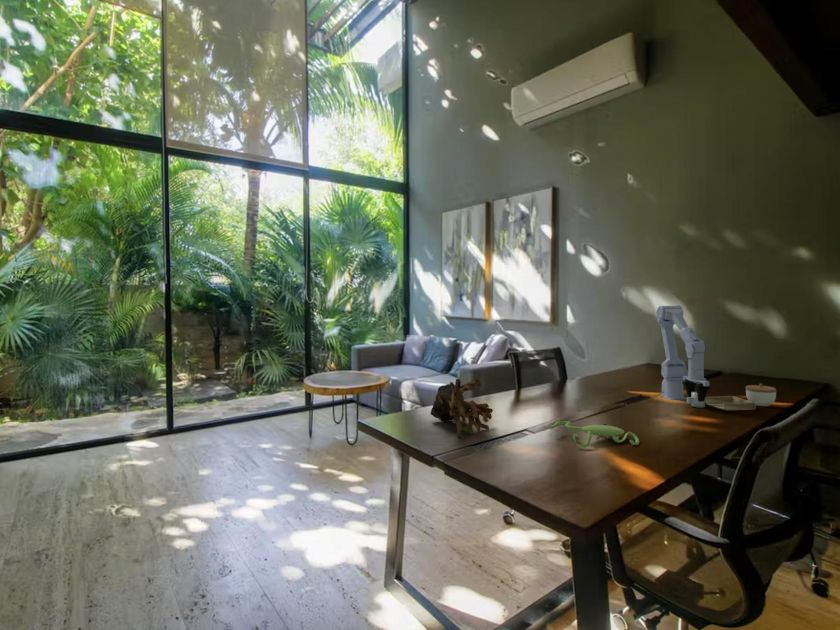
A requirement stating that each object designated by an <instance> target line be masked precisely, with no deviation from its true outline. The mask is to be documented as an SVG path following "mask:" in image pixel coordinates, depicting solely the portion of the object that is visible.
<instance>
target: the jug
mask: <svg viewBox="0 0 840 630" xmlns="http://www.w3.org/2000/svg"><path fill="white" fill-rule="evenodd" d="M686 398H687V399H686V403H687V404H690V405H691V407H694V408H699V409H700V408H701V409H702V408H703V409H704V408H705V407H706V403H705V400H704V402H699V401H698V395H697V390H696V391H694V392H691V397H688V396H687V397H686Z"/></svg>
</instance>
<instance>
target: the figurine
mask: <svg viewBox="0 0 840 630" xmlns="http://www.w3.org/2000/svg"><path fill="white" fill-rule="evenodd" d="M558 425H565V427H566V429H568V430H571V431H572V430H573V431H579V432H584V433H586V434H587V439H586V442H585V443H583V442H582V440H581V438H580V436H579V435H578V434H577V433H576V434H573V435H572V438H573V441H574V443H575V445H576V447H577V450H579V446H578V443H577V438H578V441H579V442H580V445H581V447H582V448H588V447H589V445H590V443H591V441H592V436H596V437H595V440H597V441H599V440H600V439H601V438H603V437H606V438H607V439H608V440H609V439H612V440H613V442H616V443H623V442H624V441H625V440H626V439H627V436H631V437H632V438H633V439H629V443H630V444H631V445H632V446H638V445H639V444H640V439H639V437H638V436H637V434H635V433H633V432H631V431H628V432H626V433H625V431H624V430H623V429H622V428H620V427H617V426H612V425H609V424H606V423H603V424H592V425H586V426H573V425H572V423H571V422H570V421H565V420H558V421H555V423H554V424H552V425H551V426H549V430H554V429H555V428H556V427H557V426H558ZM624 433H625V434H624ZM623 434H624V436H623V437H622V438H621V439H620V436H622V435H623Z"/></svg>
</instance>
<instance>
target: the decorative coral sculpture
mask: <svg viewBox="0 0 840 630" xmlns="http://www.w3.org/2000/svg"><path fill="white" fill-rule="evenodd" d="M461 383H462V382H461V379H460V378H456V379H455V382H453V381H450V382H449V383H448V384H444V385H441V386H439V387H438V389H437V394H435V395H436V396H435V400H434V402H433V404H432V408H431V410H430V415H431V416H433V417H434V418H436V419H438V420H439V421H441V422H443V421H448V422H450V421H449V420H451V421H452V423H453V424H456V428H457V429H456V436H457V438H461V437H462V431H463V432H465V433H468V431H469V433H470V434H471V433H472V434H473V433H474V429H473V426H474V427H475V428H476V430H477V435H479V434H480V433H481V429H485V430H486V429H488V430H490V427H489V425H488V424H485V423H488V422H489V420H491V419H492V416H493V415H492V413H493V411H494V410H493V408H490V405H489V404H488V403H487V402H486V403H477V402H475V401H474V400H472V399H471V400H470V401H468V400H465V396H464V395H463V394H464V393H465V392H467V391H476V390H477V387H476V386H478V387H482V384H481V382H480V379H479V378H475V379H473V380H471V381H468V382H466V383H464V384H462V385H461ZM480 416H481V417H482V420H483V422H484V423H482V421H481V420H480ZM466 419H467V420H468V423H467V425H466V426H463V424H465V423H466ZM443 423H444V422H443Z"/></svg>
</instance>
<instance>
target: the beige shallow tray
mask: <svg viewBox="0 0 840 630" xmlns="http://www.w3.org/2000/svg"><path fill="white" fill-rule="evenodd" d="M705 405H709V406H711V407H713V408H714V407H715V408H716V409H720V410H724V411H748V410H749V411H752V410H754V411H755V410H757V405H756V403H754V402H751V401H749V400H748V399H744V398H741V397H737V396H734V395H726V396H725V395H724V396H723V395H721V396H720V395H719V396H706V397H705Z"/></svg>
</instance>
